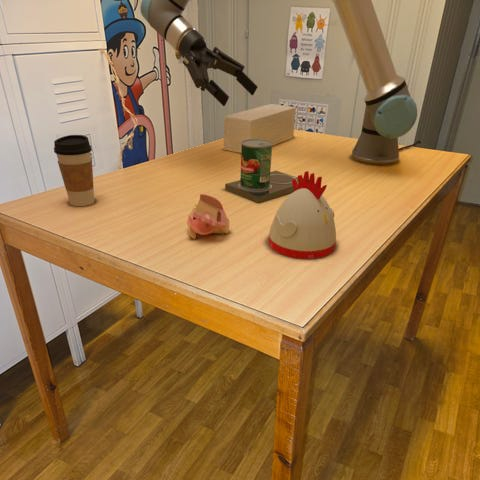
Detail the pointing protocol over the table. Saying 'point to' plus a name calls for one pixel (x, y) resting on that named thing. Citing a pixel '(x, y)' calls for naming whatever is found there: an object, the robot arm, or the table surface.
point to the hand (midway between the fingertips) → (241, 96)
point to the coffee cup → (76, 168)
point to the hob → (278, 187)
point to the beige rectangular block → (259, 125)
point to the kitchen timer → (304, 222)
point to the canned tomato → (255, 164)
